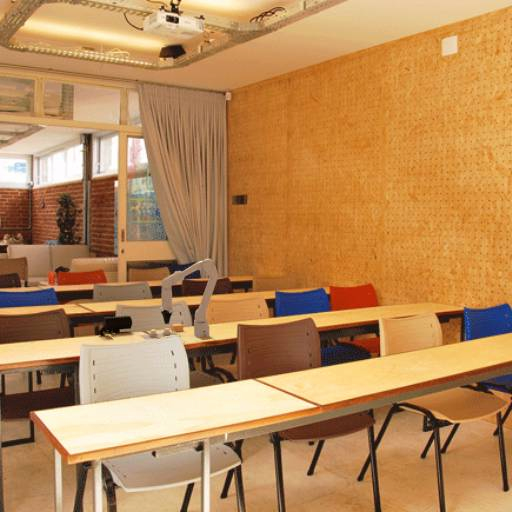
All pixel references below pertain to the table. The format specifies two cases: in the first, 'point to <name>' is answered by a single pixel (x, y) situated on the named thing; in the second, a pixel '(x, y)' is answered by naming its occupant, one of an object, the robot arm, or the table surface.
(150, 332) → the button
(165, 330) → the button
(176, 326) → the orange block
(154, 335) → the breaker panel
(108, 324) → the security camera
